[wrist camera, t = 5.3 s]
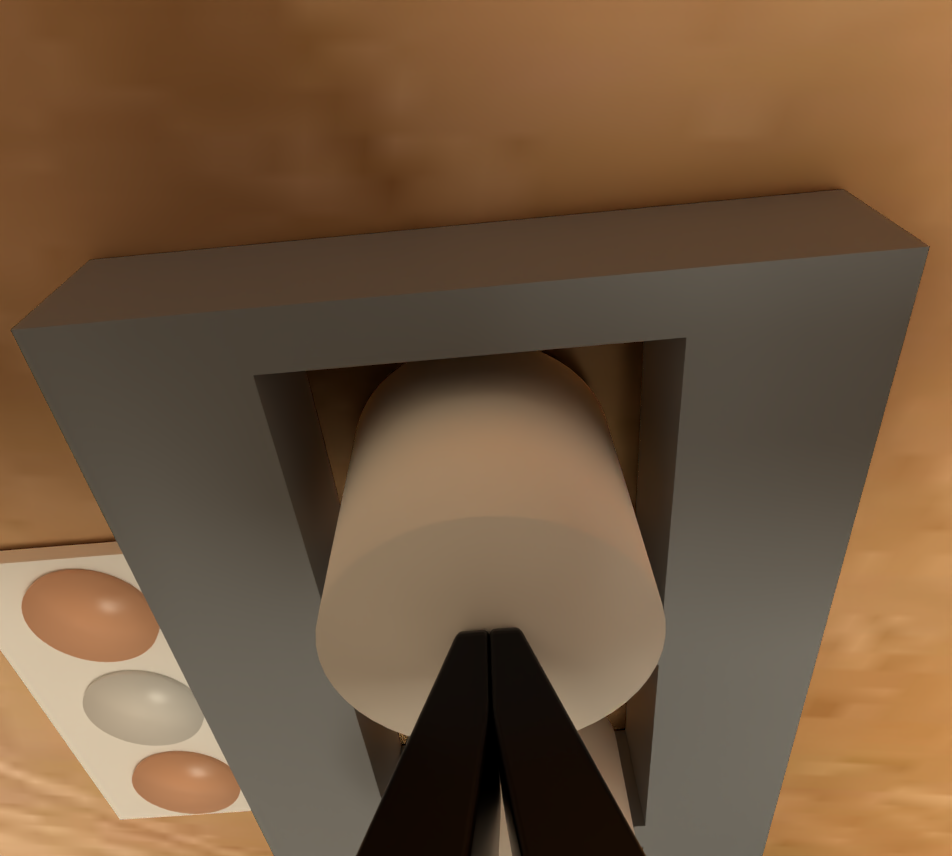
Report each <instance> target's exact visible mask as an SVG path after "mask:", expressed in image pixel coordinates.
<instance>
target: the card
mask: <svg viewBox="0 0 952 856" xmlns="http://www.w3.org/2000/svg"><path fill="white" fill-rule="evenodd" d="M0 650H1V651H2V653H3V654H4V656H5V657H6V659H7V660H8V661H9V663H10V664H11V666H12V667H13V668H14V670H15V671H16V673H17V674H18V676H19V677H20V678H21V680H22V681H23V683H24V684H25V685H26V687H27V688H28V690H29V691H30V693H31V694H32V695H33V697H34V698H35V700H36V701H37V703H38V704H39V705H40V707H41V708H42V710H43V711H44V712H45V714H46V715H47V717H48V718H49V720H50V721H51V722H52V724H53V725H54V727H55V728H56V729H57V731H58V732H59V734H60V735H61V737H62V738H63V739H64V741H65V742H66V744H67V745H68V746H69V748H70V749H71V751H72V752H73V754H74V755H75V756H76V758H77V759H78V761H79V762H80V763H81V765H82V766H83V768H84V769H85V771H86V772H87V773H88V775H89V776H90V778H91V779H92V781H93V782H94V783H95V785H96V786H97V788H98V789H99V790H100V792H101V793H102V795H103V796H104V798H105V799H106V800H107V802H108V803H109V805H110V806H111V807H112V809H113V810H114V812H115V813H116V815H117V816H118V817H119V819H120V820H123V819H138V818H153V817H168V816H183V815H197V814H212V813H227V812H242V811H251V809H250V807H249V805H248V803H247V801H246V799H245V797H244V795H243V793H242V791H241V789H240V787H239V785H238V783H237V781H236V779H235V777H234V775H233V773H232V771H231V769H230V767H229V765H228V763H227V761H226V759H225V757H224V755H223V753H222V751H221V749H220V747H219V745H218V743H217V741H216V739H215V737H214V735H213V733H212V731H211V729H210V727H209V725H208V723H207V721H206V719H205V717H204V715H203V713H202V711H201V709H200V707H199V705H198V703H197V701H196V699H195V697H194V695H193V693H192V691H191V689H190V687H189V685H188V683H187V681H186V679H185V677H184V675H183V673H182V671H181V669H180V667H179V665H178V663H177V661H176V659H175V657H174V655H173V653H172V651H171V649H170V647H169V645H168V643H167V641H166V639H165V637H164V635H163V633H162V631H161V629H160V627H159V625H158V623H157V621H156V619H155V617H154V615H153V613H152V611H151V609H150V607H149V605H148V603H147V601H146V599H145V597H144V595H143V593H142V591H141V589H140V587H139V585H138V583H137V581H136V579H135V577H134V575H133V573H132V571H131V569H130V567H129V565H128V563H127V561H126V559H125V557H124V555H123V553H122V551H121V549H120V547H119V545H118V543H117V542H104V543H92V544H79V545H67V546H55V547H42V548H30V549H17V550H5V551H0Z"/></svg>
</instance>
